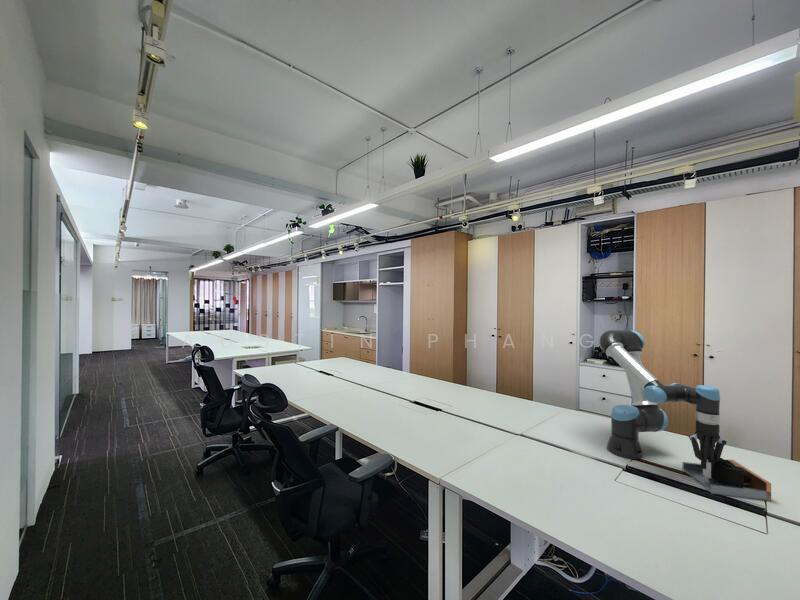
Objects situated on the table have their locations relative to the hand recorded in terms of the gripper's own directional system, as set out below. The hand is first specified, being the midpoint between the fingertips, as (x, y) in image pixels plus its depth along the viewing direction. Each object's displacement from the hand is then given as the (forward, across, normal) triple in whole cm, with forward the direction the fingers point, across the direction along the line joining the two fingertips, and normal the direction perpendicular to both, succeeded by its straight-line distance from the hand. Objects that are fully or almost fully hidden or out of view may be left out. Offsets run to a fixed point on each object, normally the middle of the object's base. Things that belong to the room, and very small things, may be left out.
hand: (706, 476), depth 139 cm
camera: (+2, +9, 0) cm, 9 cm away
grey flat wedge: (+3, +5, +1) cm, 6 cm away
